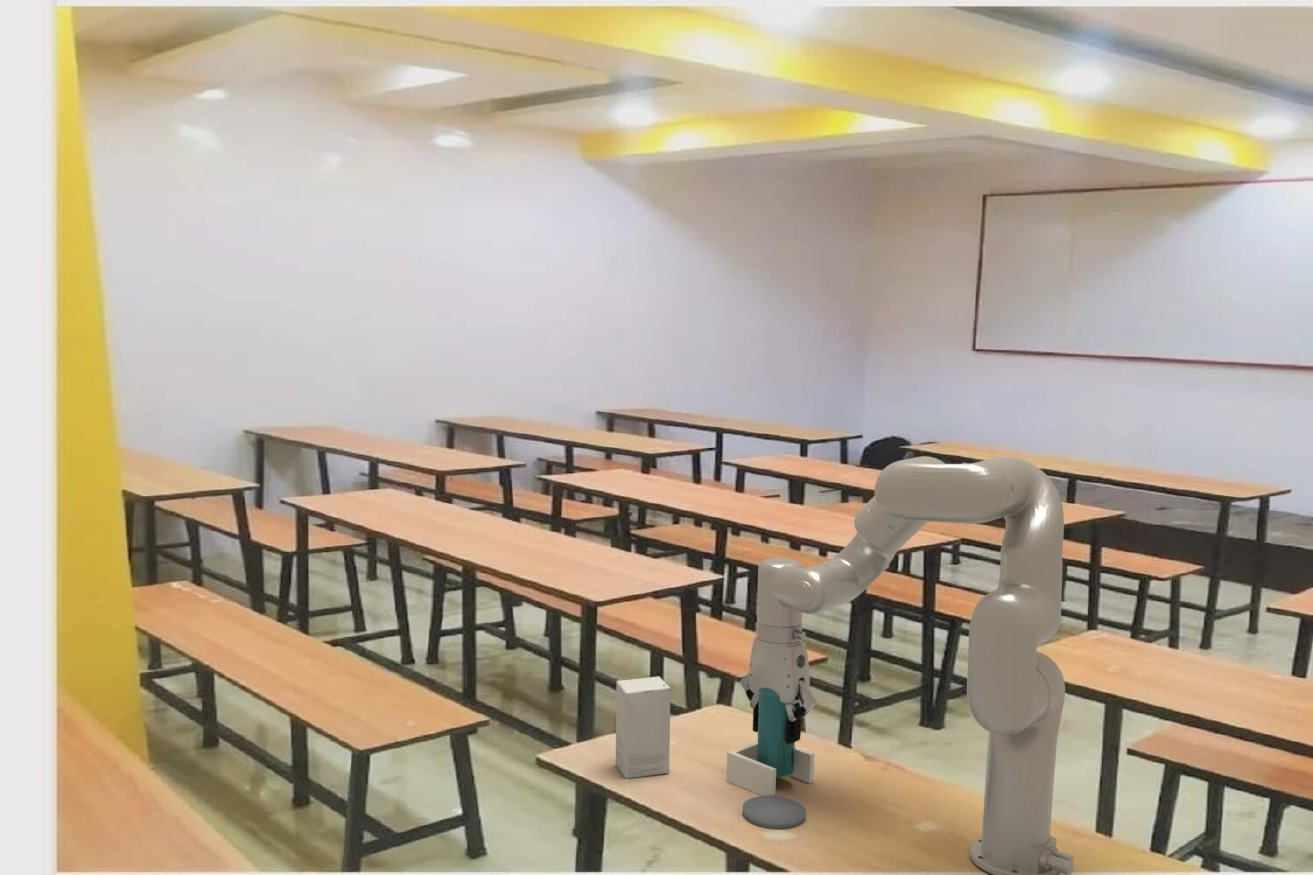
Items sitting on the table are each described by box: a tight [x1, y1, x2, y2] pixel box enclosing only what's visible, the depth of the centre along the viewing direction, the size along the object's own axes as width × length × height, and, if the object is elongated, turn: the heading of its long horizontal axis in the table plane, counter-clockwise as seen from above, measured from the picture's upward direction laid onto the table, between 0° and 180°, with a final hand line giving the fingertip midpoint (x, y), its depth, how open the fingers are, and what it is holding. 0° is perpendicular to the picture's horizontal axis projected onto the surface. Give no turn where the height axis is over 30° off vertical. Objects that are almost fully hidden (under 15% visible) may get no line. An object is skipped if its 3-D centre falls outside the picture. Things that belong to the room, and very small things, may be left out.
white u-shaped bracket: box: [725, 740, 815, 796], centre depth 198 cm, size 10×11×5 cm
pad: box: [742, 795, 807, 830], centre depth 185 cm, size 10×10×1 cm
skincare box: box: [615, 675, 672, 780], centre depth 201 cm, size 8×7×16 cm
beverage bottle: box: [756, 688, 797, 778], centre depth 196 cm, size 6×7×20 cm
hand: (776, 734), depth 197 cm, fingers closed on beverage bottle, 6 cm apart
